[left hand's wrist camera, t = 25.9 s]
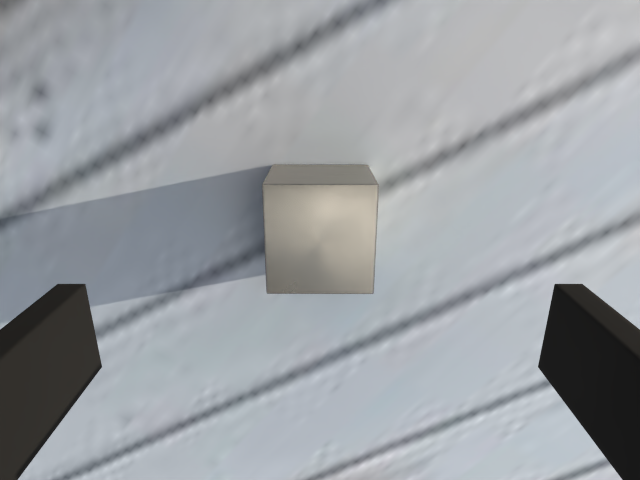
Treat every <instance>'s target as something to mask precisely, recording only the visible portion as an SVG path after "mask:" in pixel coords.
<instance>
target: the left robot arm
mask: <svg viewBox="0 0 640 480" xmlns="http://www.w3.org/2000/svg"><path fill="white" fill-rule="evenodd" d="M101 367H102V365H101V360H100V355H99V350H98V345H97V340H96V335H95V330H94V325H93V320H92V315H91V310H90V305H89V300H88V295H87V290H86V286H85V284H57V285H56V286H55V287H53V288H52V289H51V290H50V291H48V292H47V293H46V294H45V295H43V296H42V297H41V298H40V299H38V300H37V301H36V302H35V303H33V304H32V305H31V306H30V307H28V308H27V309H26V310H25V311H23V312H22V313H21V314H19V315H18V316H17V317H16V318H14V319H13V320H12V321H11V322H9V323H8V324H7V325H6V326H4V327H3V328H2V329H1V330H0V480H18V478H19V477H20V476H21V474H22V473H23V472H24V470H25V469H26V468H27V466H28V465H29V464H30V462H31V461H32V460H33V458H34V457H35V456H36V454H37V453H38V452H39V450H40V449H41V448H42V446H43V445H44V444H45V442H46V441H47V440H48V438H49V437H50V435H51V434H52V433H53V431H54V430H55V429H56V427H57V426H58V425H59V423H60V422H61V421H62V419H63V418H64V417H65V415H66V414H67V413H68V411H69V410H70V409H71V407H72V406H73V405H74V403H75V402H76V401H77V399H78V398H79V397H80V395H81V394H82V393H83V391H84V390H85V389H86V387H87V386H88V385H89V383H90V382H91V381H92V379H93V378H94V377H95V375H96V374H97V373H98V371H99V370H100V369H101ZM538 367H539V369H540V370H541V371H542V373H543V374H544V375H545V377H546V378H547V379H548V381H549V382H550V383H551V385H552V386H553V387H554V389H555V390H556V391H557V393H558V394H559V395H560V397H561V398H562V399H563V401H564V402H565V403H566V405H567V406H568V407H569V409H570V410H571V411H572V413H573V414H574V415H575V417H576V418H577V419H578V421H579V422H580V423H581V425H582V426H583V427H584V429H585V430H586V431H587V433H588V434H589V435H590V437H591V438H592V440H593V441H594V442H595V444H596V445H597V446H598V448H599V449H600V450H601V452H602V453H603V454H604V456H605V457H606V458H607V460H608V461H609V462H610V464H611V465H612V466H613V468H614V469H615V470H616V472H617V473H618V474H619V476H620V477H621V478H622V480H640V330H639V329H638V328H637V327H636V326H634V325H633V324H632V323H631V322H629V321H628V320H627V319H626V318H624V317H623V316H622V315H621V314H619V313H618V312H617V311H615V310H614V309H613V308H612V307H610V306H609V305H608V304H607V303H605V302H604V301H603V300H602V299H600V298H599V297H598V296H597V295H595V294H594V293H593V292H592V291H590V290H589V289H588V288H587V287H585V286H584V285H583V284H555V286H554V290H553V295H552V300H551V305H550V310H549V315H548V320H547V325H546V330H545V335H544V340H543V345H542V350H541V355H540V360H539V365H538Z"/></svg>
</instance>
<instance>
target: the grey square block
mask: <svg viewBox="0 0 640 480" xmlns="http://www.w3.org/2000/svg"><path fill="white" fill-rule="evenodd" d="M378 193H379V184H378V182H377V181H376V179H375V177H374V175H373V173H372V172H371V170H370V168H369V166H368V165H272V167H271V169H270V171H269V173H268V174H267V176H266V178H265V180H264V182H263V184H262V195H263V219H264V242H265V266H266V290H267V294H373V293H374V274H375V254H376V234H377V214H378Z"/></svg>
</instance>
